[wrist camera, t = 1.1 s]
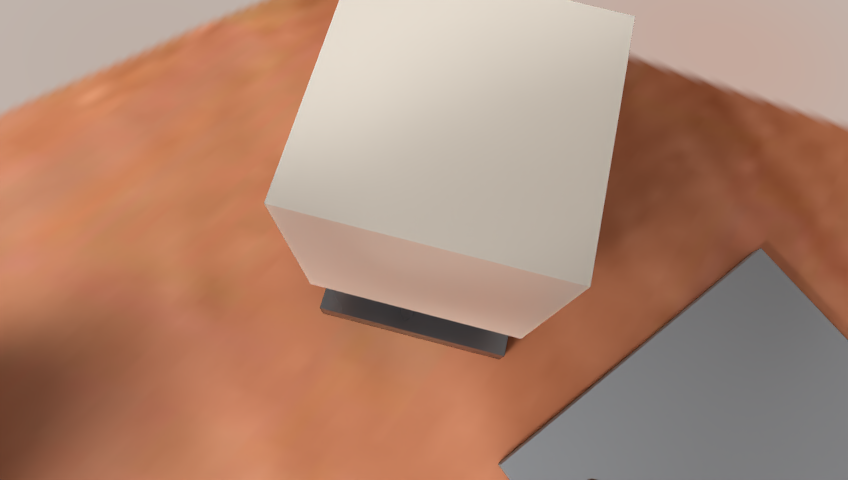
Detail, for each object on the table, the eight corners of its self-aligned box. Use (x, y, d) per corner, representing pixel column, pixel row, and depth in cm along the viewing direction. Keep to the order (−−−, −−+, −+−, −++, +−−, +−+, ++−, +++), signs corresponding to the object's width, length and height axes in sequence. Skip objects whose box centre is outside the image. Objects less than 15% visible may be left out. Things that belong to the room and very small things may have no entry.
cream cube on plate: (520, 338, 19) (590, 287, 12) (310, 284, 19) (263, 203, 12) (558, 148, 21) (635, 16, 14) (369, 101, 21) (358, -51, 14)
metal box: (499, 359, 23) (551, 323, 15) (323, 313, 23) (287, 254, 16) (533, 195, 25) (593, 92, 18) (372, 155, 25) (363, 36, 18)
